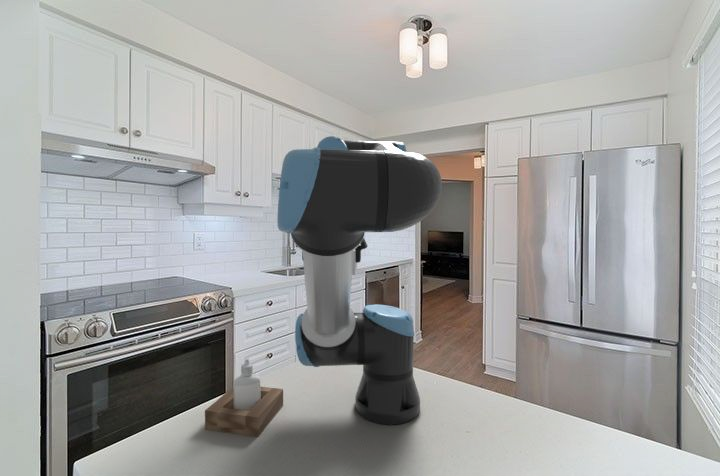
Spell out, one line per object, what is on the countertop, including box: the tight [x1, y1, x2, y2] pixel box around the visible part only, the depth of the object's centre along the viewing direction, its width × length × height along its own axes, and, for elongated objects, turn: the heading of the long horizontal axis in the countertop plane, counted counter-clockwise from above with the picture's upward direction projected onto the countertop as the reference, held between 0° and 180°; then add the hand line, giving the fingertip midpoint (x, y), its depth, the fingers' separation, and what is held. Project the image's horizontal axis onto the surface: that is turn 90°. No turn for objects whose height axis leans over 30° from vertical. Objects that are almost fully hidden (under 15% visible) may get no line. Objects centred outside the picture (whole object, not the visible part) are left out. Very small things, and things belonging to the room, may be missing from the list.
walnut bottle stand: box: [204, 386, 284, 437], centre depth 76 cm, size 12×12×4 cm
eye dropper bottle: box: [233, 358, 261, 411], centre depth 76 cm, size 4×6×12 cm
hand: (331, 273), depth 97 cm, fingers open, 13 cm apart
